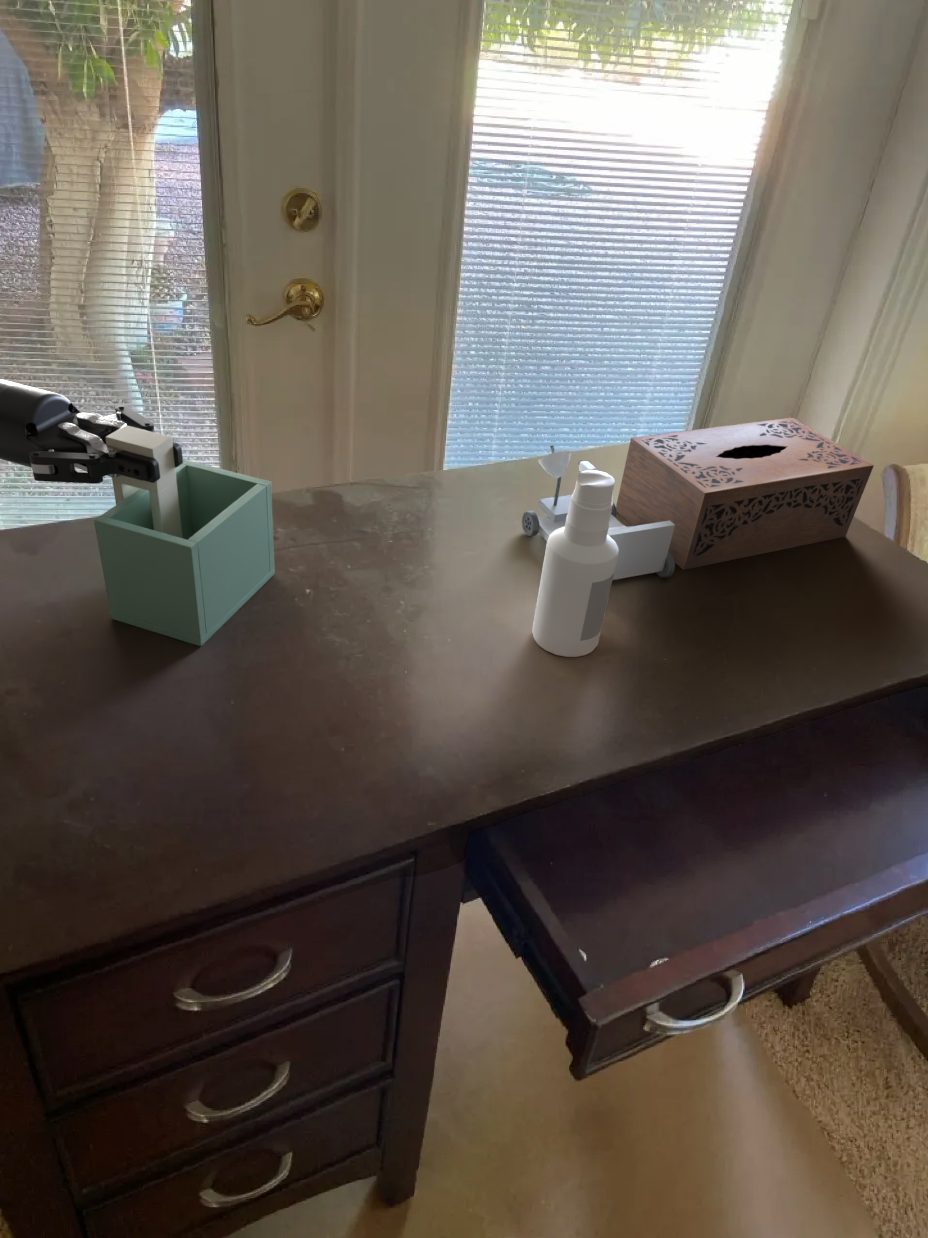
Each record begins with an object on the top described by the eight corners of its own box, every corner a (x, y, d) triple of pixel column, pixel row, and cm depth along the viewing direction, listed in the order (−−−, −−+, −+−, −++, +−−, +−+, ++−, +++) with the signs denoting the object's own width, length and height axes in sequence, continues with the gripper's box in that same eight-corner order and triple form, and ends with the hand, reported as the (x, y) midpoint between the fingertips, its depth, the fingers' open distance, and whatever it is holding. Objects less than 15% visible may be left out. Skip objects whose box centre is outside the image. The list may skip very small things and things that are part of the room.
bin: (201, 647, 84) (190, 547, 77) (110, 618, 86) (93, 519, 79) (275, 574, 95) (271, 481, 88) (193, 550, 97) (183, 458, 90)
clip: (182, 538, 89) (172, 436, 82) (165, 552, 86) (152, 449, 80) (139, 526, 90) (125, 424, 83) (121, 540, 87) (105, 436, 81)
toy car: (520, 444, 103) (605, 434, 108) (510, 517, 109) (591, 506, 113) (600, 519, 90) (692, 505, 95) (584, 598, 96) (671, 581, 100)
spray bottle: (608, 655, 88) (646, 495, 78) (543, 661, 87) (573, 498, 76) (584, 615, 94) (617, 460, 83) (523, 620, 92) (548, 462, 81)
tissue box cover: (769, 484, 123) (791, 417, 117) (845, 536, 113) (873, 465, 107) (615, 510, 113) (631, 437, 107) (683, 569, 103) (705, 493, 97)
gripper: (-53, 411, 78) (115, 456, 74) (57, 362, 89) (208, 399, 85) (-33, 487, 83) (126, 533, 79) (70, 432, 94) (213, 469, 90)
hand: (168, 463), depth 82 cm, fingers closed on clip, 3 cm apart
